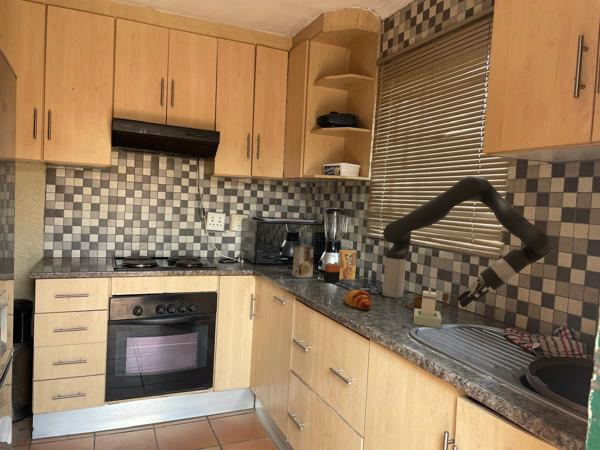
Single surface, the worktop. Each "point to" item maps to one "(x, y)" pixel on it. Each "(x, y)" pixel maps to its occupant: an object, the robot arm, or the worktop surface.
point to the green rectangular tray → (427, 319)
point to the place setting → (419, 302)
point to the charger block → (428, 303)
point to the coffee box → (303, 261)
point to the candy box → (347, 264)
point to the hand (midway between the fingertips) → (459, 302)
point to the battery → (332, 273)
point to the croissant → (358, 299)
